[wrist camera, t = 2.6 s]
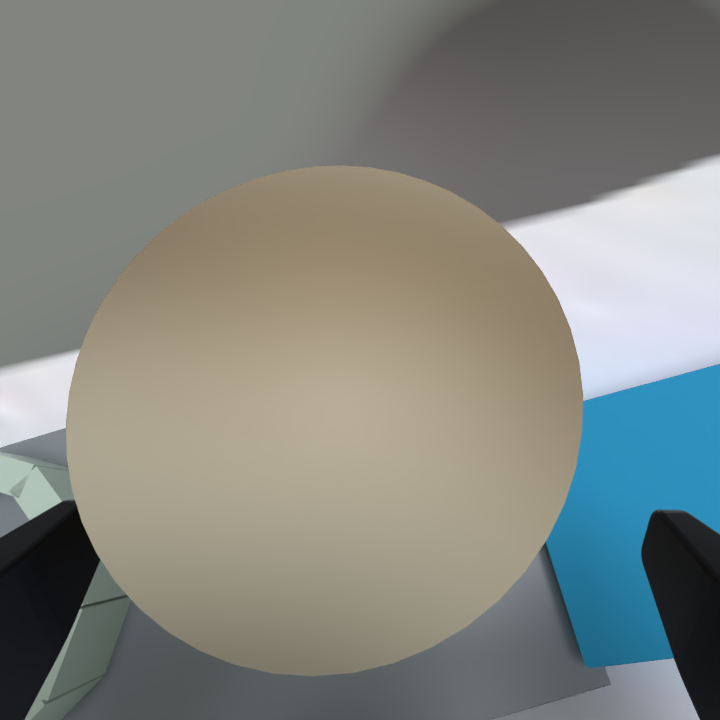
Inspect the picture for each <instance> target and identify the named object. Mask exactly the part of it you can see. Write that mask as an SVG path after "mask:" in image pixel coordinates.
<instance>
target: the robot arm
mask: <svg viewBox="0 0 720 720" xmlns="http://www.w3.org/2000/svg"><path fill="white" fill-rule="evenodd" d="M641 558H642V563H643V567H644V570H645V573H646V576H647V579H648V582H649V585H650V588H651V591H652V594H653V597H654V600H655V603H656V606H657V609H658V612H659V615H660V618H661V621H662V624H663V627H664V630H665V633H666V636H667V639H668V642H669V645H670V648H671V651H672V654H673V657H674V660H675V662H676V665H677V668H678V670H679V673H680V675H681V678H682V680H683V682H684V685H685V687H686V689H687V692H688V694H689V696H690V698H691V701H692V703H693V705H694V707H695V710H696V712H697V714H698V716H699V718H700V720H720V534H719V533H718V532H716V531H715V530H713V529H712V528H710V527H709V526H707V525H706V524H704V523H703V522H701V521H700V520H699V519H697V518H696V517H694V516H693V515H691V514H690V513H688V512H686V511H683V510H668V509H658V510H655V511H653V513H652V514H651V516H650V519H649V522H648V526H647V529H646V533H645V536H644V540H643V543H642V548H641ZM100 560H101V559H100V558H99V556H98V555H97V553H96V551H95V549H94V547H93V545H92V543H91V541H90V538H89V536H88V534H87V532H86V530H85V528H84V526H83V524H82V521H81V518H80V514H79V511H78V508H77V505H76V501H75V499H69V500H64V501H62V502H60V503H58V504H57V505H55V506H53V507H52V508H50V509H48V510H46V511H45V512H43V513H41V514H40V515H38V516H36V517H34V518H33V519H31V520H29V521H28V522H26V523H24V524H22V525H21V526H19V527H17V528H16V529H14V530H12V531H10V532H9V533H7V534H5V535H4V536H2V537H0V720H25V718H26V716H27V714H28V712H29V711H30V709H31V707H32V705H33V703H34V701H35V699H36V697H37V695H38V694H39V692H40V690H41V688H42V686H43V684H44V682H45V680H46V678H47V677H48V675H49V673H50V671H51V669H52V667H53V665H54V663H55V661H56V660H57V658H58V656H59V654H60V652H61V650H62V648H63V646H64V644H65V642H66V640H67V638H68V635H69V633H70V631H71V629H72V627H73V624H74V622H75V620H76V617H77V615H78V613H79V610H80V608H81V605H82V603H83V601H84V598H85V596H86V593H87V591H88V589H89V586H90V584H91V582H92V579H93V577H94V574H95V572H96V570H97V567H98V565H99V562H100Z"/></svg>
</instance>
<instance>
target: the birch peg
mask: <svg viewBox="0 0 720 720" xmlns="http://www.w3.org/2000/svg"><path fill="white" fill-rule="evenodd" d="M582 418H583V391H582V383H581V374H580V366H579V359H578V356H577V352H576V348H575V344H574V340H573V337H572V333H571V329H570V327H569V324H568V322H567V319H566V317H565V314H564V312H563V310H562V307H561V305H560V302H559V300H558V298H557V296H556V295H555V293H554V291H553V289H552V288H551V286H550V284H549V283H548V281H547V279H546V277H545V276H544V274H543V272H542V271H541V269H540V268H539V267H538V266H537V264H536V263H535V262H534V260H533V259H532V258H531V257H530V255H529V254H528V253H527V251H526V250H525V249H524V248H523V246H522V245H521V244H520V243H518V242H517V241H516V240H515V239H514V238H513V237H512V236H511V235H510V234H509V233H508V232H507V231H506V230H505V229H504V228H503V227H502V226H501V225H500V224H499V223H497V222H496V221H495V220H493V219H492V218H491V217H489V216H488V215H487V214H485V213H484V212H483V211H482V210H480V209H479V208H478V207H476V206H474V205H473V204H471V203H469V202H468V201H466V200H464V199H462V198H461V197H459V196H457V195H456V194H454V193H452V192H450V191H448V190H445V189H443V188H441V187H438V186H436V185H434V184H431V183H429V182H427V181H424V180H421V179H417V178H414V177H411V176H408V175H404V174H401V173H398V172H392V171H386V170H381V169H375V168H370V167H369V168H368V167H355V166H322V167H321V166H320V167H309V168H301V169H295V170H288V171H283V172H279V173H275V174H271V175H268V176H264V177H260V178H256V179H254V180H251V181H248V182H246V183H243V184H241V185H238V186H235V187H233V188H230V189H228V190H226V191H224V192H222V193H220V194H218V195H216V196H214V197H212V198H210V199H208V200H206V201H204V202H203V203H201V204H199V205H198V206H196V207H195V208H193V209H192V210H190V211H189V212H187V213H186V214H184V215H182V216H181V217H179V218H178V219H177V220H176V221H174V222H173V223H172V224H171V225H169V226H168V227H167V228H166V229H164V230H163V231H162V232H161V233H159V234H158V235H157V236H156V237H155V238H154V239H153V240H152V241H151V242H150V243H149V244H148V245H147V246H146V247H145V248H144V249H143V250H142V251H141V252H140V253H139V254H138V255H137V256H136V257H135V258H134V259H133V260H132V262H131V263H130V264H129V265H128V266H127V268H126V269H125V270H124V271H123V273H122V274H121V275H120V276H119V278H118V279H117V280H116V282H115V283H114V285H113V286H112V288H111V289H110V291H109V293H108V294H107V296H106V297H105V299H104V301H103V302H102V303H101V305H100V307H99V309H98V311H97V313H96V315H95V317H94V319H93V321H92V323H91V325H90V327H89V329H88V331H87V333H86V337H85V339H84V342H83V345H82V347H81V350H80V353H79V356H78V359H77V361H76V365H75V370H74V374H73V378H72V383H71V387H70V391H69V399H68V409H67V419H66V446H67V462H68V468H69V474H70V480H71V487H72V491H73V495H74V498H75V501H76V505H77V508H78V511H79V514H80V518H81V521H82V524H83V526H84V528H85V530H86V532H87V534H88V536H89V538H90V541H91V543H92V545H93V547H94V549H95V551H96V553H97V555H98V556H99V558H100V559H101V561H102V562H103V564H104V565H105V567H106V569H107V570H108V572H109V573H110V575H111V576H112V578H113V579H114V581H115V582H116V583H117V584H118V586H119V587H120V588H121V589H122V590H123V591H124V592H125V593H126V594H127V596H128V597H129V598H130V599H131V600H132V601H133V602H134V603H135V604H136V606H137V607H138V608H139V609H140V610H141V611H143V612H144V613H145V614H146V615H148V616H149V617H150V618H151V619H152V620H154V621H155V622H156V623H157V624H159V625H160V626H161V627H162V628H163V629H165V630H166V631H167V632H169V633H170V634H172V635H174V636H175V637H177V638H179V639H180V640H182V641H184V642H186V643H187V644H189V645H191V646H192V647H194V648H196V649H197V650H199V651H201V652H204V653H206V654H209V655H211V656H214V657H216V658H219V659H221V660H224V661H227V662H229V663H232V664H234V665H238V666H242V667H246V668H251V669H255V670H260V671H264V672H268V673H273V674H286V675H301V676H323V675H335V674H346V673H355V672H359V671H363V670H367V669H372V668H376V667H380V666H384V665H388V664H392V663H395V662H398V661H400V660H402V659H405V658H407V657H410V656H412V655H415V654H417V653H420V652H422V651H424V650H427V649H429V648H432V647H433V646H435V645H437V644H438V643H440V642H442V641H443V640H445V639H447V638H448V637H450V636H452V635H454V634H455V633H457V632H459V631H460V630H462V629H464V628H465V627H467V626H468V625H469V624H471V623H472V622H473V621H474V620H475V619H477V618H478V617H479V616H480V615H482V614H483V613H484V612H485V611H487V610H488V609H489V608H490V607H491V606H493V605H494V604H495V603H496V602H498V601H499V600H500V598H501V597H502V596H503V595H504V594H505V593H506V592H507V591H508V590H509V589H510V588H511V586H512V585H513V584H514V583H515V582H516V581H517V580H518V579H519V578H520V577H521V576H522V574H523V573H524V572H525V571H526V570H527V568H528V567H529V565H530V564H531V562H532V561H533V559H534V558H535V556H536V555H537V553H538V552H539V551H540V549H541V548H542V546H543V545H544V543H545V542H546V540H547V539H548V537H549V535H550V533H551V531H552V529H553V526H554V524H555V522H556V520H557V518H558V516H559V514H560V512H561V510H562V508H563V506H564V504H565V501H566V498H567V495H568V491H569V488H570V485H571V482H572V479H573V476H574V473H575V470H576V465H577V459H578V453H579V447H580V441H581V435H582Z"/></svg>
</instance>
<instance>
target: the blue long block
mask: <svg viewBox="0 0 720 720" xmlns="http://www.w3.org/2000/svg"><path fill="white" fill-rule="evenodd" d="M658 509H668V510H683V511H686V512H688V513H690V514H691V515H693V516H694V517H696V518H697V519H699V520H700V521H701V522H703V523H704V524H706V525H707V526H709V527H710V528H712V529H713V530H715V531H716V532H718V533H719V534H720V364H718V365H715V366H711V367H707V368H704V369H700V370H696V371H693V372H689V373H685V374H682V375H678V376H674V377H671V378H667V379H663V380H660V381H656V382H652V383H649V384H645V385H641V386H638V387H634V388H630V389H627V390H623V391H619V392H616V393H612V394H608V395H605V396H601V397H597V398H594V399H590V400H586V401H583V418H582V435H581V441H580V447H579V453H578V459H577V465H576V470H575V473H574V476H573V479H572V482H571V485H570V488H569V491H568V495H567V498H566V501H565V504H564V506H563V508H562V510H561V512H560V514H559V516H558V518H557V520H556V522H555V524H554V526H553V529H552V531H551V533H550V535H549V537H548V539H547V540H546V545H547V548H548V551H549V554H550V557H551V560H552V563H553V566H554V570H555V573H556V576H557V579H558V582H559V585H560V588H561V591H562V595H563V598H564V601H565V604H566V607H567V610H568V613H569V616H570V620H571V623H572V626H573V629H574V632H575V635H576V638H577V641H578V645H579V648H580V651H581V654H582V657H583V660H584V663H585V665H586V666H587V667H588V668H596V667H604V666H612V665H621V664H629V663H637V662H645V661H654V660H662V659H670V658H674V657H673V654H672V651H671V648H670V645H669V642H668V639H667V636H666V633H665V630H664V627H663V624H662V621H661V618H660V615H659V612H658V609H657V606H656V603H655V600H654V597H653V594H652V591H651V588H650V585H649V582H648V579H647V576H646V573H645V570H644V567H643V563H642V558H641V548H642V543H643V540H644V536H645V533H646V529H647V526H648V522H649V519H650V516H651V514H652V513H653V511H655V510H658Z"/></svg>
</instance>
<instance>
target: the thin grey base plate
mask: <svg viewBox="0 0 720 720" xmlns="http://www.w3.org/2000/svg"><path fill="white" fill-rule="evenodd" d="M69 499H75V498H74V495H73V491H72V487H71V480H70V474H69V468H68V462H67V446H66V428H65V429H61V430H58V431H55V432H51V433H48V434H45V435H41V436H38V437H35V438H31V439H28V440H24V441H21V442H18V443H14V444H11V445H8V446H4V447H1V448H0V537H2V536H4V535H5V534H7V533H9V532H10V531H12V530H14V529H16V528H17V527H19V526H21V525H22V524H24V523H26V522H28V521H29V520H31V519H33V518H34V517H36V516H38V515H40V514H41V513H43V512H45V511H46V510H48V509H50V508H52V507H53V506H55V505H57V504H58V503H60V502H62V501H64V500H69ZM607 685H611V684H610V681H609V679H608V676H607V674H606V671H605V668H604V667H596V668H588V667H587V666H586V665H585V663H584V660H583V657H582V654H581V651H580V648H579V645H578V641H577V638H576V635H575V632H574V629H573V626H572V623H571V620H570V616H569V613H568V610H567V607H566V604H565V601H564V598H563V595H562V591H561V588H560V585H559V582H558V579H557V576H556V573H555V570H554V566H553V563H552V560H551V557H550V554H549V551H548V548H547V545H546V542H545V543H544V545H543V546H542V548H541V549H540V551H539V552H538V553H537V555H536V556H535V558H534V559H533V561H532V562H531V564H530V565H529V567H528V568H527V570H526V571H525V572H524V573H523V574H522V576H521V577H520V578H519V579H518V580H517V581H516V582H515V583H514V584H513V585H512V586H511V588H510V589H509V590H508V591H507V592H506V593H505V594H504V595H503V596H502V597H501V598H500V600H499V601H498V602H496V603H495V604H494V605H493V606H491V607H490V608H489V609H488V610H487V611H485V612H484V613H483V614H482V615H480V616H479V617H478V618H477V619H475V620H474V621H473V622H472V623H471V624H469V625H468V626H467V627H465V628H464V629H462V630H460V631H459V632H457V633H455V634H454V635H452V636H450V637H448V638H447V639H445V640H443V641H442V642H440V643H438V644H437V645H435V646H433V647H432V648H429V649H427V650H424V651H422V652H420V653H417V654H415V655H412V656H410V657H407V658H405V659H402V660H400V661H398V662H395V663H392V664H388V665H384V666H380V667H376V668H372V669H367V670H363V671H359V672H355V673H346V674H335V675H323V676H301V675H286V674H273V673H268V672H264V671H260V670H255V669H251V668H246V667H242V666H238V665H234V664H232V663H229V662H227V661H224V660H221V659H219V658H216V657H214V656H211V655H209V654H206V653H204V652H201V651H199V650H197V649H196V648H194V647H192V646H191V645H189V644H187V643H186V642H184V641H182V640H180V639H179V638H177V637H175V636H174V635H172V634H170V633H169V632H167V631H166V630H165V629H163V628H162V627H161V626H160V625H159V624H157V623H156V622H155V621H154V620H152V619H151V618H150V617H149V616H148V615H146V614H145V613H144V612H143V611H141V610H140V609H139V608H138V607H137V606H136V604H135V603H134V602H133V601H132V600H131V599H130V598H129V597H128V596H127V594H126V593H125V592H124V591H123V590H122V589H121V588H120V587H119V586H118V584H117V583H116V582H115V581H114V579H113V578H112V576H111V575H110V573H109V572H108V570H107V569H106V567H105V565H104V564H103V562H102V561H101V560H100V562H99V565H98V567H97V570H96V572H95V574H94V577H93V579H92V582H91V584H90V586H89V589H88V591H87V593H86V596H85V598H84V601H83V603H82V605H81V608H80V610H79V613H78V615H77V617H76V620H75V622H74V624H73V627H72V629H71V631H70V633H69V635H68V638H67V640H66V642H65V644H64V646H63V648H62V650H61V652H60V654H59V656H58V658H57V660H56V661H55V663H54V665H53V667H52V669H51V671H50V673H49V675H48V677H47V678H46V680H45V682H44V684H43V686H42V688H41V690H40V692H39V694H38V695H37V697H36V699H35V701H34V703H33V705H32V707H31V709H30V711H29V712H28V714H27V716H26V718H25V720H491V719H495V718H498V717H502V716H505V715H508V714H512V713H515V712H519V711H522V710H526V709H529V708H532V707H536V706H539V705H543V704H546V703H549V702H553V701H556V700H560V699H563V698H566V697H570V696H573V695H577V694H580V693H583V692H587V691H590V690H594V689H597V688H601V687H604V686H607Z"/></svg>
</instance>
